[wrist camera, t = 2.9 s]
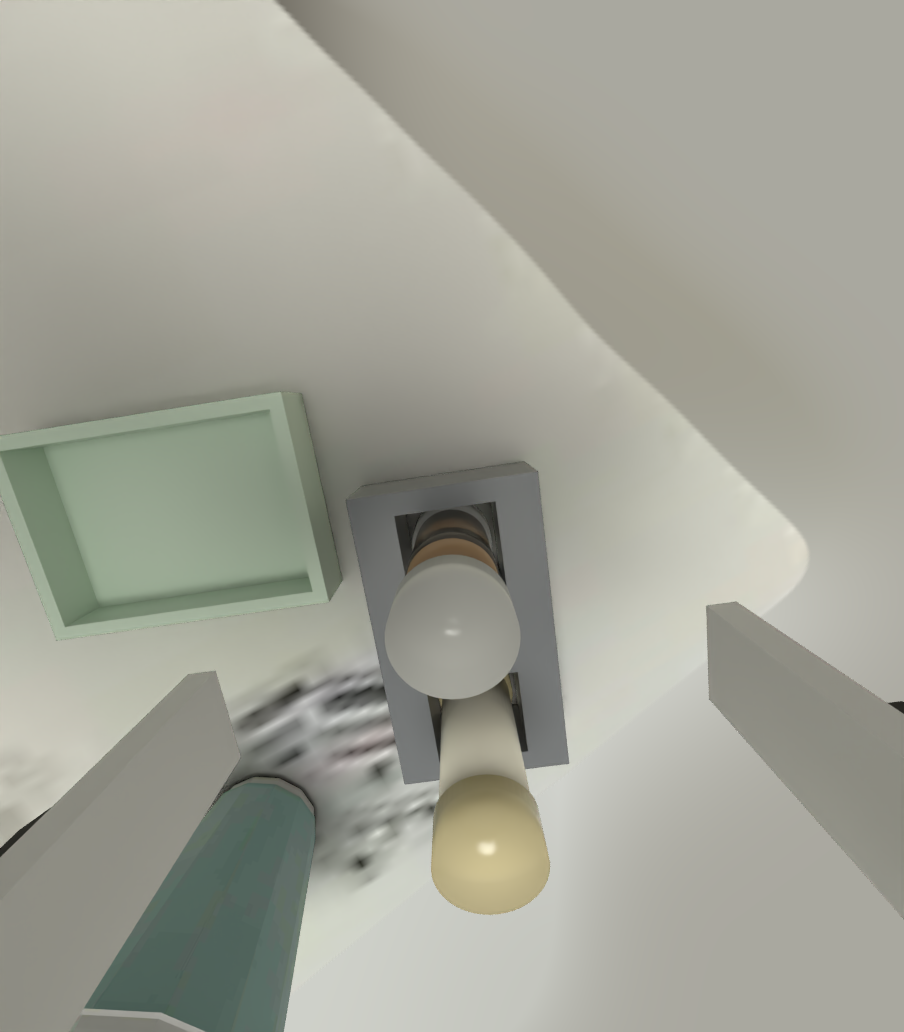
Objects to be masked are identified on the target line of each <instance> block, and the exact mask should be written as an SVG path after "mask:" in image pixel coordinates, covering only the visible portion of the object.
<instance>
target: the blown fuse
mask: <svg viewBox="0 0 904 1032" xmlns="http://www.w3.org/2000/svg"><path fill="white" fill-rule="evenodd" d="M412 550H413V551H412V553H411V556H410V559H409V562H408V566H407V570H406V574H405V577H404V578H403V580H402V581H401V583H400V584H399V586H398V588H397V591H396V594H395V597H394V600H393V603H392V607H391V610H390V613H389V617H388V620H387V623H386V628H385V647H386V652H387V655H388V658H389V660H390V663H391V665H392V666H393V668H394V670H395V671H396V672H397V674H398V675H399V676H400V677H401V678H402V679H403V680H404V681H405V682H406V683H407V684H408V685H410V686H411V687H412V688H414V689H416V690H418V691H419V692H421V693H424V694H426V695H429V696H432V697H436V698H441V699H464V698H469V697H473V696H476V695H479V694H481V693H484V692H486V691H488V690H489V689H491V688H493V687H494V686H495V685H497V684H498V683H499V682H500V681H501V680H502V679H503V678H504V677H505V676H506V675H507V674H508V673H509V671H510V670H511V668H512V667H513V665H514V663H515V661H516V658H517V656H518V652H519V648H520V640H521V637H520V627H519V622H518V619H517V616H516V613H515V609H514V606H513V603H512V600H511V597H510V594H509V591H508V588H507V586H506V585H505V583H504V581H503V580H502V578H501V577H500V576H499V571H498V567H497V564H496V560H495V557H494V554H493V552H492V537H491V533H490V530H489V526H488V523H487V521H486V519H485V517H484V515H483V514H482V512H481V511H480V510H479V509H478V508H477V507H476V506H475V505H467V506H460V507H453V508H447V509H440V510H433V511H426V512H422V514H421V515H420V517H419V519H418V521H417V524H416V527H415V531H414V534H413V539H412Z"/></svg>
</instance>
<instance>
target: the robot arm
mask: <svg viewBox="0 0 904 1032" xmlns="http://www.w3.org/2000/svg"><path fill="white" fill-rule="evenodd" d="M706 613H707V647H708V680H709V700H710V701H711V702H712V703H713V704H714V705H715V706H716V708H717V709H718V710H719V711H720V712H721V713H722V714H723V715H724V717H725V718H726V719H727V720H728V721H729V722H730V723H731V725H732V726H733V727H734V728H735V729H736V730H737V731H738V732H739V734H740V735H741V736H742V737H743V738H744V739H745V740H746V741H747V743H748V744H749V745H750V746H751V747H752V748H753V749H754V750H755V752H756V753H757V754H758V755H759V756H760V757H761V758H762V759H763V761H764V762H765V763H766V764H767V765H768V766H769V767H770V768H771V770H772V771H773V772H774V773H775V774H776V775H777V776H778V778H779V779H780V780H781V781H782V782H783V783H784V784H785V785H786V787H787V788H788V789H789V790H790V791H791V792H792V793H793V795H794V796H795V797H796V798H797V799H798V800H799V801H800V802H801V804H803V806H804V807H805V808H806V809H807V810H808V812H809V813H810V814H811V815H812V816H813V817H814V818H815V819H816V821H817V822H818V823H819V824H820V825H821V826H822V827H823V828H824V830H825V831H826V832H827V833H828V834H829V835H830V836H831V837H832V839H833V840H834V841H835V842H836V843H837V844H838V845H839V847H840V848H841V849H842V850H843V851H844V852H845V853H846V854H847V856H848V857H849V858H850V859H851V860H852V861H853V862H854V863H855V865H856V866H857V867H858V868H859V869H860V870H861V871H862V872H863V874H864V875H865V876H866V877H867V878H868V879H869V880H870V882H871V883H872V884H873V885H874V886H875V887H876V888H877V889H878V891H879V892H880V893H881V894H882V895H883V896H884V897H885V898H886V899H887V900H888V902H889V903H890V904H891V905H892V906H893V907H894V909H895V910H896V911H897V912H898V913H899V914H900V915H901V917H902V918H903V919H904V702H902V701H900V702H892V703H887V702H885V701H883V700H882V699H881V698H879V697H878V696H876V695H875V694H873V693H872V692H870V691H869V690H867V689H866V688H864V687H863V686H861V685H860V684H858V683H857V682H855V681H854V680H852V679H851V678H849V677H848V676H846V675H845V674H843V673H842V672H840V671H839V670H837V669H836V668H834V667H833V666H831V665H830V664H828V663H827V662H825V661H824V660H823V659H821V658H820V657H818V656H817V655H815V654H813V653H812V652H811V651H809V650H808V649H806V648H805V647H803V646H802V645H800V644H799V643H797V642H796V641H794V640H793V639H791V638H790V637H788V636H787V635H785V634H784V633H782V632H781V631H779V630H778V629H776V628H775V627H773V626H772V625H770V624H769V623H767V622H766V621H764V620H763V619H761V618H760V617H758V616H757V615H755V614H754V613H753V612H751V611H750V610H748V609H747V608H745V607H744V606H742V605H741V604H739V603H738V602H730V603H722V604H715V605H707V606H706ZM240 758H241V756H240V752H239V749H238V746H237V742H236V739H235V735H234V732H233V728H232V725H231V722H230V718H229V715H228V711H227V708H226V704H225V701H224V698H223V694H222V691H221V687H220V684H219V681H218V677H217V674H216V671H210V672H203V673H195V674H188V675H187V676H186V677H185V678H184V679H183V680H182V681H181V682H180V683H179V684H178V685H177V686H176V687H175V688H174V689H173V690H172V691H171V692H170V693H169V694H168V695H167V696H166V697H165V698H164V699H163V700H162V701H160V702H159V703H158V704H157V705H156V706H155V707H154V708H153V709H152V710H151V711H150V712H149V713H148V714H147V715H146V716H145V717H144V718H143V719H142V720H141V721H140V722H139V723H138V724H137V725H136V726H135V727H134V728H133V729H132V730H131V731H130V732H129V733H128V734H127V735H126V736H124V737H123V738H122V739H121V740H120V741H119V742H118V743H117V744H116V745H115V746H114V747H113V748H112V749H111V750H110V751H109V752H108V753H107V754H106V755H105V756H104V757H103V758H102V759H101V760H100V761H99V762H98V763H97V764H96V765H95V766H94V767H93V768H92V769H91V770H90V771H88V772H87V773H86V774H85V775H84V776H83V777H82V778H81V779H80V780H79V781H78V782H77V783H76V784H75V785H74V786H73V787H72V788H71V789H70V790H69V791H68V792H67V793H66V794H65V795H64V796H63V797H62V798H61V799H60V800H59V801H58V802H57V803H56V804H55V805H54V806H53V807H51V808H50V809H48V810H47V811H45V812H44V813H43V814H41V815H40V816H38V817H37V818H36V819H34V820H33V821H31V822H30V823H29V824H27V825H26V826H24V827H23V828H22V829H20V830H19V831H18V832H17V833H16V834H15V835H14V836H13V837H12V838H10V839H9V840H8V841H7V842H6V843H5V844H4V845H3V846H2V847H1V848H0V1032H69V1031H70V1029H71V1028H72V1026H73V1024H74V1023H75V1021H76V1020H77V1018H78V1016H79V1015H80V1013H81V1012H82V1010H83V1008H84V1007H85V1005H86V1004H87V1002H88V1000H89V999H90V997H91V996H92V994H93V993H94V991H95V989H96V988H97V986H98V985H99V983H100V981H101V980H102V978H103V977H104V975H105V973H106V972H107V970H108V969H109V967H110V965H111V964H112V962H113V961H114V959H115V957H116V956H117V954H118V953H119V951H120V949H121V948H122V946H123V945H124V943H125V941H126V940H127V938H128V937H129V935H130V934H131V932H132V930H133V929H134V927H135V926H136V924H137V922H138V921H139V919H140V918H141V916H142V914H143V913H144V911H145V910H146V908H147V906H148V905H149V903H150V902H151V900H152V898H153V897H154V895H155V894H156V892H157V890H158V889H159V887H160V886H161V884H162V882H163V881H164V879H165V878H166V876H167V875H168V873H169V871H170V870H171V868H172V867H173V865H174V863H175V862H176V860H177V859H178V857H179V855H180V854H181V852H182V851H183V849H184V847H185V846H186V844H187V843H188V841H189V839H190V838H191V836H192V835H193V833H194V831H195V830H196V828H197V827H198V825H199V823H200V822H201V820H202V819H203V817H204V816H205V814H206V812H207V811H208V809H209V808H210V806H211V804H212V803H213V801H214V800H215V798H216V796H217V795H218V793H219V792H220V790H221V788H222V787H223V785H224V784H225V782H226V780H227V779H228V777H229V776H230V774H231V772H232V771H233V769H234V768H235V766H236V764H237V763H238V761H239V760H240Z"/></svg>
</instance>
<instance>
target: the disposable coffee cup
mask: <svg viewBox="0 0 904 1032" xmlns="http://www.w3.org/2000/svg"><path fill="white" fill-rule="evenodd" d="M314 844H315V817H314V807H313V806H312V804H311V803H310V801H309V800H308V799H307V797H306V796H305V794H304V793H303V792H302V790H301V789H299V788H297V787H295V786H293V785H291V784H289V783H287V782H286V781H284V780H282V779H280V778H266V777H253V778H250V779H248V780H246V781H243V782H241V783H239V784H236V785H234V786H233V787H232V788H231V789H230V790H229V791H227V792H224V793H223V794H222V796H221V797H220V798H219V799H218V801H217V802H216V803H215V805H214V806H213V807H212V808H211V810H210V811H209V812H208V813H207V815H206V816H205V817H204V818H203V820H202V821H201V822H200V823H199V825H198V827H197V828H196V830H195V831H194V833H193V835H192V836H191V838H190V839H189V841H188V843H187V844H186V846H185V847H184V849H183V851H182V852H181V854H180V855H179V857H178V859H177V860H176V862H175V863H174V865H173V867H172V868H171V870H170V871H169V873H168V875H167V876H166V878H165V879H164V881H163V882H162V884H161V886H160V887H159V889H158V890H157V892H156V894H155V895H154V897H153V898H152V900H151V902H150V903H149V905H148V906H147V908H146V910H145V911H144V913H143V914H142V916H141V918H140V919H139V921H138V922H137V924H136V926H135V927H134V929H133V930H132V932H131V934H130V935H129V937H128V938H127V940H126V941H125V943H124V945H123V946H122V948H121V949H120V951H119V953H118V954H117V956H116V957H115V959H114V961H113V962H112V964H111V965H110V967H109V969H108V970H107V972H106V973H105V975H104V977H103V978H102V980H101V981H100V983H99V985H98V986H97V988H96V989H95V991H94V993H93V994H92V996H91V997H90V999H89V1000H88V1002H87V1004H86V1005H85V1007H84V1008H83V1010H82V1012H81V1013H80V1015H79V1016H78V1018H77V1020H76V1021H75V1023H74V1024H73V1026H72V1028H71V1029H70V1031H69V1032H284V1026H285V1020H286V1014H287V1008H288V1002H289V996H290V990H291V984H292V978H293V972H294V966H295V960H296V954H297V947H298V941H299V935H300V929H301V923H302V917H303V911H304V905H305V899H306V893H307V887H308V880H309V874H310V868H311V862H312V856H313V850H314Z"/></svg>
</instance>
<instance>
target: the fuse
mask: <svg viewBox="0 0 904 1032" xmlns="http://www.w3.org/2000/svg"><path fill="white" fill-rule="evenodd" d="M512 696H513V692H512V686H511V681H510V677H509V673H508V674H507V675H506V676H505V677H504V678H503V679H502V680H501V681H500V682H499V683H498V684H497V685H495V686H494V687H493V688H491V689H489V690H488V691H486V692H484V693H481V694H479V695H476V696H473V697H469V698H464V699H441V698H439V701H440V705H441V707H442V719H441V751H440V783H439V800H438V802H437V804H436V807H435V810H434V816H433V839H432V862H431V873H432V878H433V882H434V884H435V886H436V888H437V889H438V891H439V892H440V894H441V895H442V896H443V897H444V898H445V899H446V900H447V901H449V902H450V903H451V904H453V905H454V906H456V907H458V908H461V909H463V910H465V911H468V912H472V913H477V914H488V915H492V914H501V913H506V912H510V911H513V910H516V909H519V908H521V907H523V906H525V905H526V904H528V903H529V902H531V901H532V900H533V899H534V898H535V897H537V895H538V894H539V893H540V892H541V891H542V889H543V888H544V886H545V884H546V882H547V880H548V876H549V872H550V861H549V856H548V852H547V847H546V842H545V838H544V833H543V828H542V824H541V819H540V815H539V810H538V806H537V804H536V801H535V799H534V798H533V796H532V795H531V793H530V791H529V786H528V782H527V777H526V772H525V767H524V762H523V757H522V752H521V747H520V742H519V738H518V733H517V728H516V723H515V718H514V713H513V708H512V703H511V702H512Z"/></svg>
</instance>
